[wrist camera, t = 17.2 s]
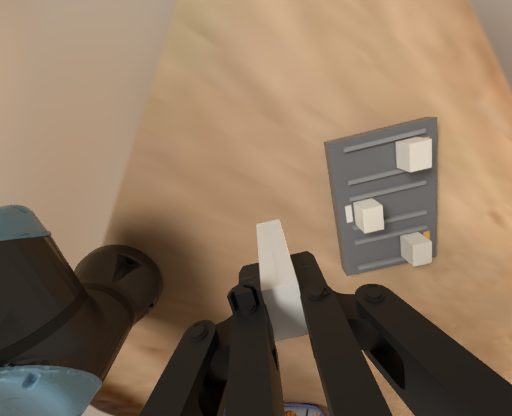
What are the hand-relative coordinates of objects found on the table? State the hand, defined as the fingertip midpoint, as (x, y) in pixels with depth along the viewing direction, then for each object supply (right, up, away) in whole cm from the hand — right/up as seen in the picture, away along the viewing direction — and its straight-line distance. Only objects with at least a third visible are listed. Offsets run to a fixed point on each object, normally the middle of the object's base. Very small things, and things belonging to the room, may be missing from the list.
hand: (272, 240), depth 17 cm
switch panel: (+20, +3, +27) cm, 34 cm away
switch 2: (+25, -4, +27) cm, 38 cm away
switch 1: (+22, +11, +22) cm, 33 cm away
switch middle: (+17, +2, +25) cm, 30 cm away
